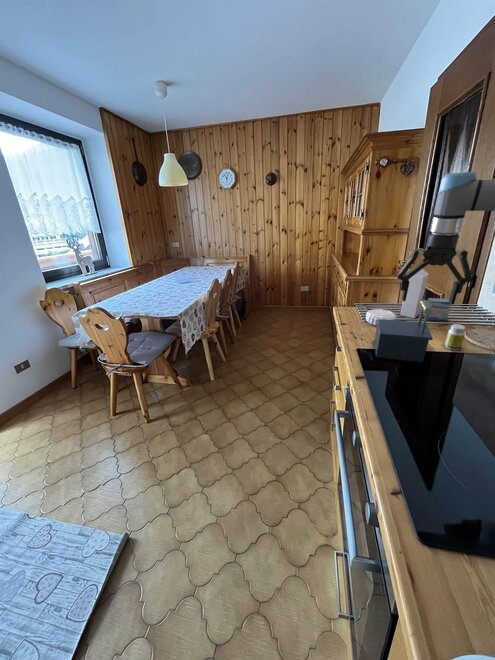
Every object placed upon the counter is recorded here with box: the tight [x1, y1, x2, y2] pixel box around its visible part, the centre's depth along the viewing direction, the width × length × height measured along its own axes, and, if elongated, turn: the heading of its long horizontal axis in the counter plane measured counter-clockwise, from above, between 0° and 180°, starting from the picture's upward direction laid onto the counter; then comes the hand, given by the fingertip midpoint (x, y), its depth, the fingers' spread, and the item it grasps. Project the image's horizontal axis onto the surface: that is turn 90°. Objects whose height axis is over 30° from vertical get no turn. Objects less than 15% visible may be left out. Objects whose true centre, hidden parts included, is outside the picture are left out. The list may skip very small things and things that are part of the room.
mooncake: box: [365, 308, 397, 327], centre depth 124 cm, size 12×12×4 cm
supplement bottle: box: [444, 323, 466, 351], centre depth 101 cm, size 5×5×8 cm
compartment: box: [374, 323, 430, 363], centre depth 101 cm, size 15×12×9 cm
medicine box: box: [423, 297, 452, 322], centre depth 122 cm, size 8×4×9 cm, turn 73°
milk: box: [399, 268, 429, 319], centre depth 123 cm, size 6×6×22 cm
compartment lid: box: [378, 299, 433, 341], centre depth 96 cm, size 16×12×10 cm
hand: (426, 301), depth 92 cm, fingers open, 13 cm apart
